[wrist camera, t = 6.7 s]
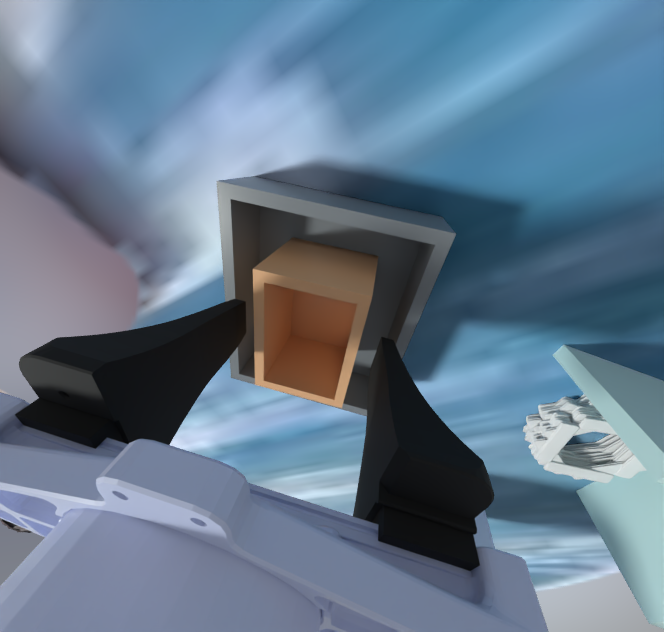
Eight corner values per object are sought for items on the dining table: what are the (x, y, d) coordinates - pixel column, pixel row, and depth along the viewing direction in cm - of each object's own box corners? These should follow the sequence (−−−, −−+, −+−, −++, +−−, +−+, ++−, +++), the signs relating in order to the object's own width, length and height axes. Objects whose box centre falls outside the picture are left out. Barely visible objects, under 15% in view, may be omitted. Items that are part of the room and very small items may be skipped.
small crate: (378, 256, 14) (372, 296, 10) (353, 350, 18) (341, 408, 14) (292, 237, 15) (252, 268, 10) (286, 333, 18) (255, 384, 14)
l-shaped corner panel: (562, 343, 15) (679, 470, 9) (754, 413, 15) (1008, 591, 9) (454, 445, 22) (478, 559, 16) (587, 494, 22) (665, 629, 16)
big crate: (442, 217, 13) (456, 233, 10) (378, 380, 20) (376, 419, 17) (253, 176, 14) (216, 180, 11) (254, 346, 20) (231, 377, 18)
